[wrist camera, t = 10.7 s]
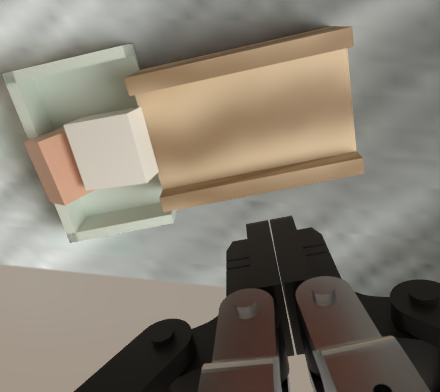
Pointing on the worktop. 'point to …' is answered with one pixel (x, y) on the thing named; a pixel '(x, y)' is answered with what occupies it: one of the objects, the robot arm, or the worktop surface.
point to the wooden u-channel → (251, 118)
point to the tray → (82, 107)
